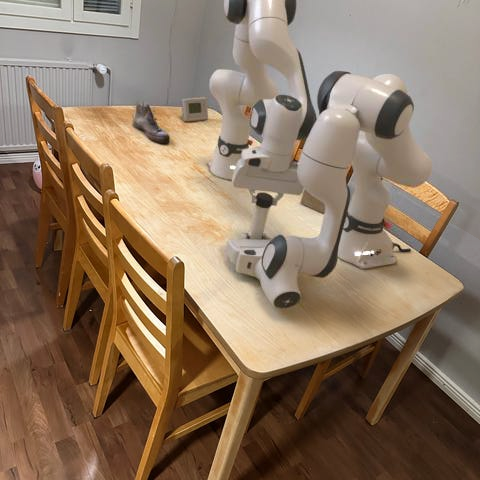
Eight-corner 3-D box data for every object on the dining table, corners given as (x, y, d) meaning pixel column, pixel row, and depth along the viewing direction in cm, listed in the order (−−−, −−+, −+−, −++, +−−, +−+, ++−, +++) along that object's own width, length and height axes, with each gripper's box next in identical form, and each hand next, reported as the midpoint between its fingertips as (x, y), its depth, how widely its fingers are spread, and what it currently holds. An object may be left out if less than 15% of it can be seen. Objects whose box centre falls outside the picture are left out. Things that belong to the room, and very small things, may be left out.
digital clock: (183, 122, 219) (186, 101, 213) (175, 116, 224) (177, 95, 219) (211, 122, 228) (214, 101, 222) (202, 115, 233) (205, 95, 228)
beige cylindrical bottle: (258, 248, 136) (271, 195, 127) (258, 256, 133) (272, 202, 123) (244, 245, 136) (257, 193, 126) (244, 253, 132) (257, 200, 123)
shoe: (173, 145, 192) (176, 117, 186) (149, 145, 187) (151, 117, 180) (153, 123, 209) (155, 98, 203) (130, 123, 204) (132, 97, 197)
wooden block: (323, 213, 164) (339, 164, 154) (299, 203, 168) (314, 154, 157) (332, 205, 172) (349, 158, 161) (310, 195, 176) (324, 148, 165)
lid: (270, 201, 128) (272, 194, 127) (271, 209, 124) (274, 202, 123) (254, 198, 127) (256, 191, 126) (254, 206, 123) (256, 199, 122)
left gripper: (308, 159, 123) (295, 202, 130) (236, 149, 119) (227, 194, 126) (313, 168, 118) (300, 213, 125) (239, 158, 114) (229, 205, 121)
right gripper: (305, 253, 123) (288, 227, 134) (235, 253, 117) (223, 225, 127) (299, 271, 126) (283, 244, 137) (231, 272, 120) (219, 243, 131)
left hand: (263, 203), depth 126 cm, fingers closed on lid, 4 cm apart
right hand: (253, 235), depth 132 cm, fingers closed on beige cylindrical bottle, 4 cm apart
